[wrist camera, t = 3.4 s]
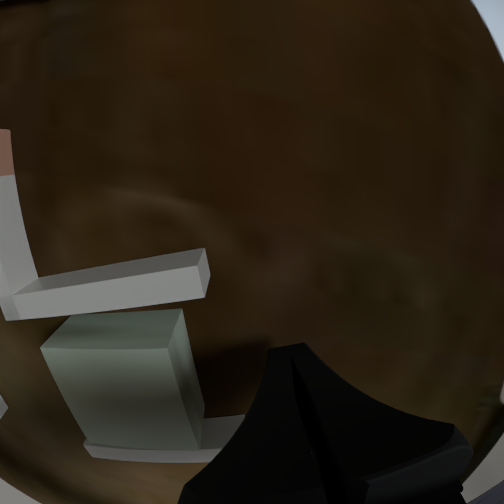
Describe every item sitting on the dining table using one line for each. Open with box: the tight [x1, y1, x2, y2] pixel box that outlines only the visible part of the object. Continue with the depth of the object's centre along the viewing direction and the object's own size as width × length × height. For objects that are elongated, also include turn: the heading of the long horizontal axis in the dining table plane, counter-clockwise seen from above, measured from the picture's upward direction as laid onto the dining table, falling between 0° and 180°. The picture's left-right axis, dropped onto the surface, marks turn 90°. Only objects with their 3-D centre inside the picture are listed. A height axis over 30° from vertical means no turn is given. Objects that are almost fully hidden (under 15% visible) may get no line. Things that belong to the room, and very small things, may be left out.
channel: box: [0, 175, 245, 463], centre depth 10 cm, size 14×16×2 cm
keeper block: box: [40, 309, 205, 451], centre depth 11 cm, size 5×5×3 cm
